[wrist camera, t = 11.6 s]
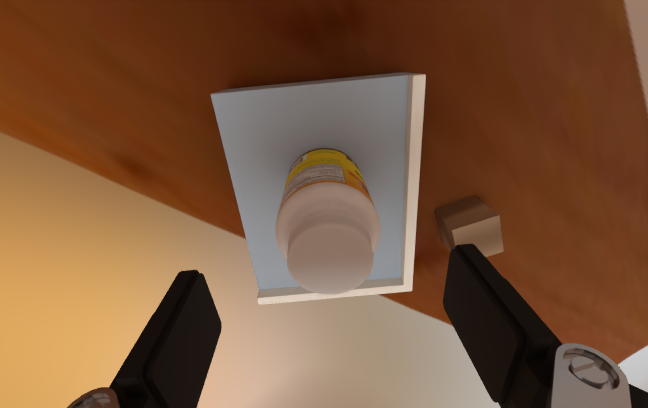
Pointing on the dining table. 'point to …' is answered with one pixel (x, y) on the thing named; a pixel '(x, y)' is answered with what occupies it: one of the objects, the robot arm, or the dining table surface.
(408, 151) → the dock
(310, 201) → the supplement bottle
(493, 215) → the light brown cube
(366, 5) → the dining table surface
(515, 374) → the robot arm
